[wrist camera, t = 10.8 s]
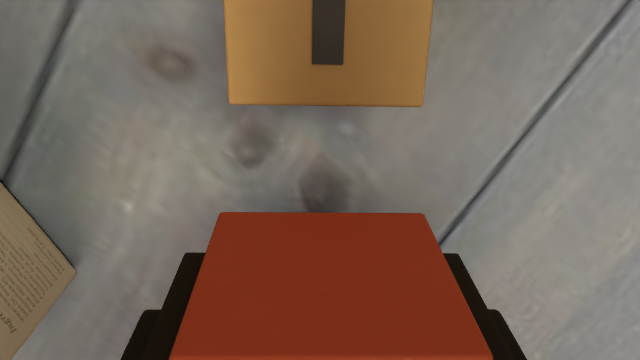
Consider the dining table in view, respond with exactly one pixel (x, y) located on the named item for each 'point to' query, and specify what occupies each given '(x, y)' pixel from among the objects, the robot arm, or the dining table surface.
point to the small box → (26, 275)
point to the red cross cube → (326, 292)
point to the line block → (327, 52)
